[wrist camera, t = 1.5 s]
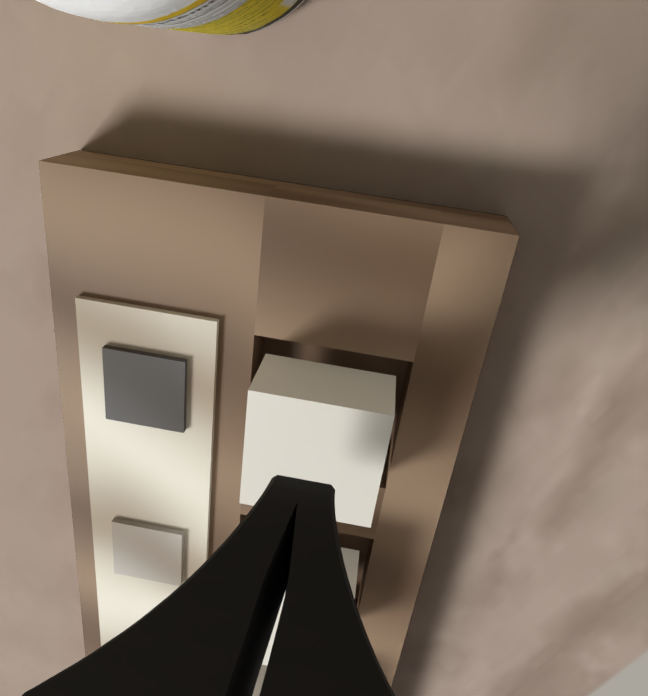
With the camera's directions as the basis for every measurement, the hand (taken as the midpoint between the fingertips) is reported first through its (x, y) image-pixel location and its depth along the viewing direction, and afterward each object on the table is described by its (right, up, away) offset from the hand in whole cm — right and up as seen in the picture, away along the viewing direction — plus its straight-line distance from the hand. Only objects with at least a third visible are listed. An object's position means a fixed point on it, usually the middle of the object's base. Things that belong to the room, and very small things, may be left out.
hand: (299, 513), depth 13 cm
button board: (-2, -3, +9) cm, 9 cm away
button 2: (+1, +2, +4) cm, 4 cm away
